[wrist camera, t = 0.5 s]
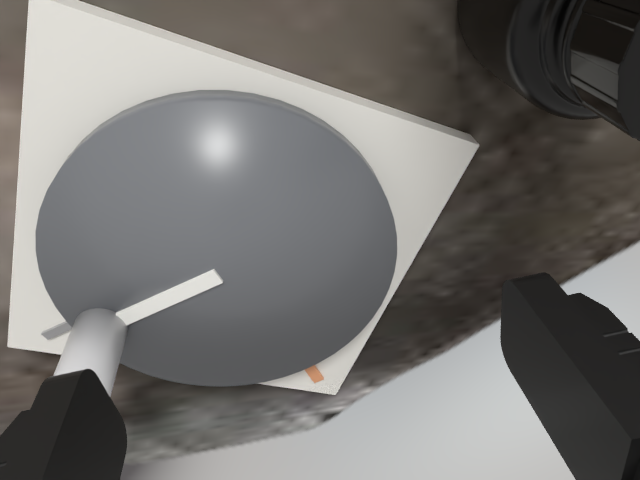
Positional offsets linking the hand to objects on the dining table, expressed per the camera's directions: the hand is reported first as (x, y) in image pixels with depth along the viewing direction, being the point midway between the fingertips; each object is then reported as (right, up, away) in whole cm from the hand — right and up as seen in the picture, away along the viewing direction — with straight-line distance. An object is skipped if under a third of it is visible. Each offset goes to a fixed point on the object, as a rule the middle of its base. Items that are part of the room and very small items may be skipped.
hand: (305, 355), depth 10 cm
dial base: (-5, +2, +22) cm, 23 cm away
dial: (-5, +2, +20) cm, 21 cm away
